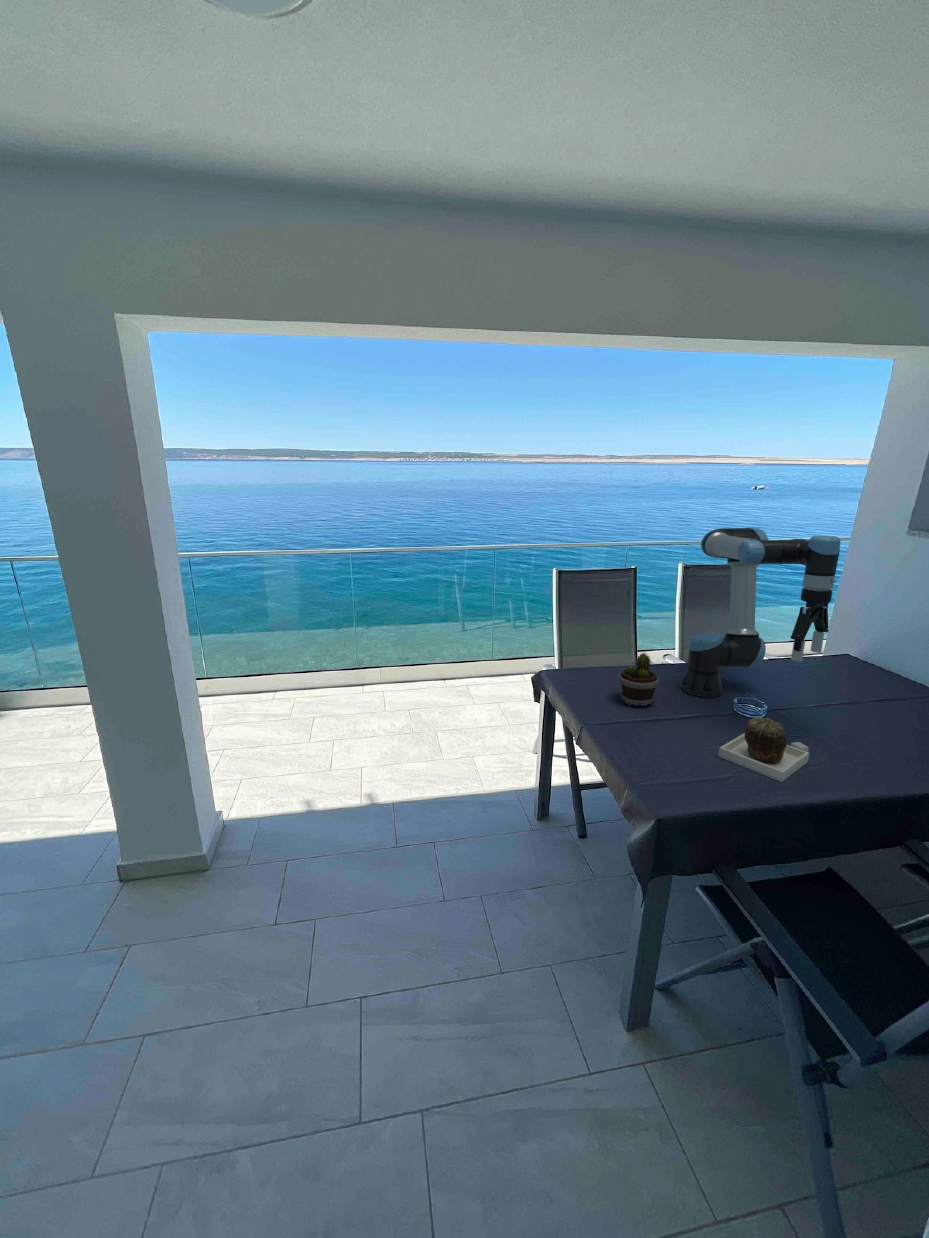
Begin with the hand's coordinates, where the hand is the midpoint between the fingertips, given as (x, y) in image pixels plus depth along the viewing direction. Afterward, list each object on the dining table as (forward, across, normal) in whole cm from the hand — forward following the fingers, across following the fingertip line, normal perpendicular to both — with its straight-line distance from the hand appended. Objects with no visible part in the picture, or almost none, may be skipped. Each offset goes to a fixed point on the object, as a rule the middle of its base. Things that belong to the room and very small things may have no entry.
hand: (806, 656), depth 155 cm
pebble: (+28, -7, -4) cm, 29 cm away
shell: (+27, -21, 0) cm, 35 cm away
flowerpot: (+29, -15, +48) cm, 58 cm away
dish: (+28, -21, 0) cm, 35 cm away
